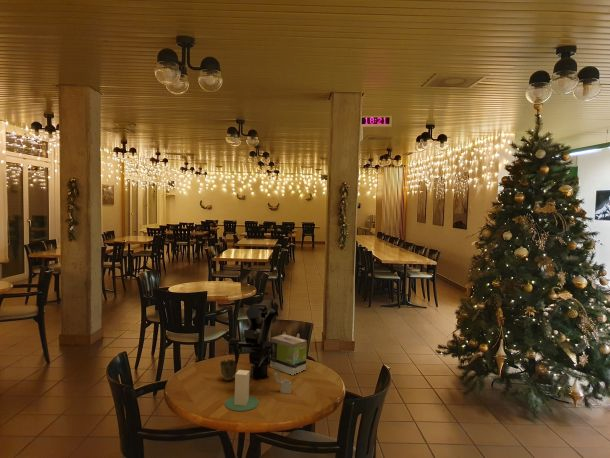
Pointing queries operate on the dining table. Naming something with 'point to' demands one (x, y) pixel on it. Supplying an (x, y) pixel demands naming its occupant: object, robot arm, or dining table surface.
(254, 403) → the green mat
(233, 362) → the dark grey rounded piece
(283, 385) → the lighter
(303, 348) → the tea box
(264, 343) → the robot arm
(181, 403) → the dining table surface
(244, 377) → the cream block
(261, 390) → the dining table surface
